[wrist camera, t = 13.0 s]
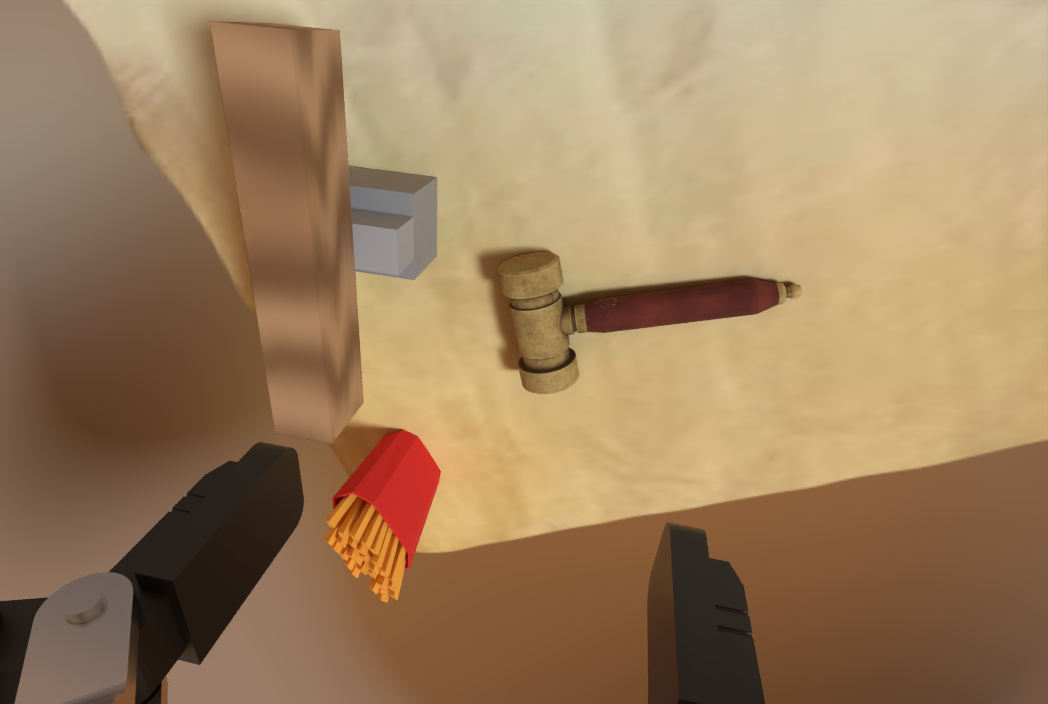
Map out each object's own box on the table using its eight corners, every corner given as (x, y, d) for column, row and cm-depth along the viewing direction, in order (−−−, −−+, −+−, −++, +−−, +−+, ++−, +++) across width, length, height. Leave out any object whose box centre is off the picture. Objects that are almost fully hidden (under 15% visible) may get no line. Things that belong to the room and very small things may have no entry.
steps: (307, 160, 43) (242, 184, 36) (437, 177, 42) (396, 205, 35) (314, 238, 46) (256, 274, 39) (436, 256, 45) (398, 296, 38)
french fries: (370, 430, 54) (300, 533, 43) (407, 417, 53) (344, 521, 42) (419, 501, 58) (366, 614, 46) (455, 491, 56) (409, 605, 45)
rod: (269, 23, 31) (209, 21, 27) (339, 30, 31) (290, 29, 26) (312, 393, 43) (275, 433, 39) (363, 402, 42) (332, 443, 38)
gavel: (815, 229, 36) (810, 368, 41) (793, 211, 40) (791, 339, 45) (491, 276, 40) (519, 398, 44) (501, 255, 44) (525, 369, 48)
